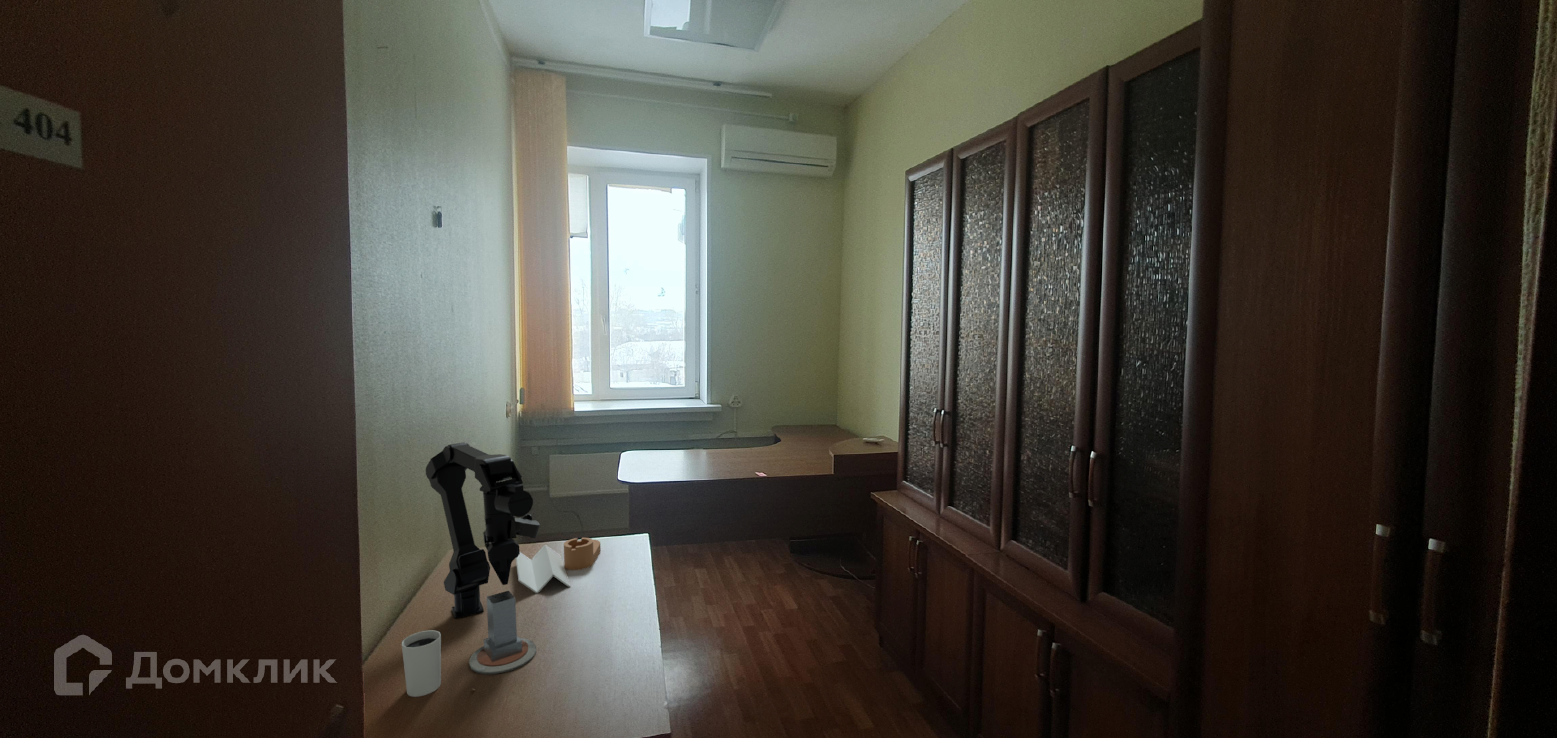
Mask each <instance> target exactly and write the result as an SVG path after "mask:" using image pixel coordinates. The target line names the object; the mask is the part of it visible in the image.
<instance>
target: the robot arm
mask: <svg viewBox="0 0 1557 738" xmlns="http://www.w3.org/2000/svg"><path fill="white" fill-rule="evenodd" d="M467 470H470V471H472V472H473V473H474V478H475V479H476V480H477V481H478V482H479V484H480V485H481V486H480V487H479V491H480V492H482V494H483V496H482V497H483V510H484V515H483V518H484V523H485V530H484V531H483V533H482V536H483V544H484V546H485V548H486V550H487V554H486V550H484V548H481V549H480V548H479V547H478V546H477V545H476V543H475V539H474V536H473V532H472V527H471V523H470V518H469V514H468V510H467V505H466V502H465V497H464V493H463V486H464V484H465V481H466V478H467V474H466V471H467ZM425 476H426V478H427V479H428V481H429V484H430V487H431V488H432V489H433V490H434V491H436V492H437V494H439V495H440V498H441V502H442V506H443V510H444V514H445V520H446V524H447V528H448V531H449V532H448V533H449V536H450V540H451V542H450V543H451V545H452V549H453V553H452V555H451V558H450V561H449V562H448V563H449V564H448V567H449V572H448V574H447V576H446V577H445V579H444V581H443V585H444V590H445V592H447V593H448V594H451V595H453V599H454V606H452V607H451V611H452V614H453V618H454V619H459V618H463V617H467V616H471V615H476V614H480V613H484V612H485V609H484V606H483V604H482V602H481V589H480V588H481V587H480V586H482V585H486V584H488V583H489V577H490V573H491V572H490V571H491V567H492V568H493V571H494V572H495V574H496V576H497V577H498V580H499V581H500V583H501V585H502V586H505V585H508V584H509V579H510V574H511V567H512V562H514V560H516V558H517V557H518V556H519V554H520V552H521V551H520V545H519V542H518V541H517V540H515V539H517V536H522V537H528V538H530V539H536V538H537V537H538V534H539V531H540V526H541V524H540V522H539V521H537V520H536V519H534V520H533V515H532V514H530V511H531V510H532V508H533V505H534V499H533V497H532V495H531V493H530V492H529V491H526V490H524V485H523V484H524V483H523V480H522V477H523V476H522V474H521V472H520V471H519V469H518V468H517V466H516V463H515V462H514V461H513V459H512V458H511V456H509V455H508V454H497V453H496V454H488V453H486V452H484V451H482V450H479V449H477V448H475V447H474V446H471V445H469V443H468V442H457V443H451V444H447V445H446V446H445V447H443V449H442V450H441V451H440V452H439V453H437V454H436V455H434V456H433V457H431V458H430V460H429V462H428V463H427V465H426V466H425Z"/></svg>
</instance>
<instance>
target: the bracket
mask: <svg viewBox="0 0 1557 738" xmlns="http://www.w3.org/2000/svg"><path fill="white" fill-rule="evenodd" d="M578 539H579V538H578V537H575V538H571V539H568V540H565V542H564V543H563V564H564V567H565V570H569V571H582V570H585V569H588V568H590V567H592V566H593V565H594V564H595V562H596V561H597V559H598V557H599V555H600V553H601V541H599V540H597V539H592V538H590V537H581V539H579V540H578Z"/></svg>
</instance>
